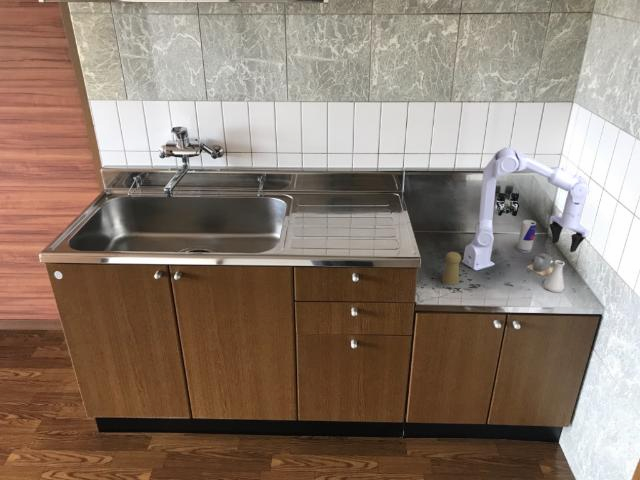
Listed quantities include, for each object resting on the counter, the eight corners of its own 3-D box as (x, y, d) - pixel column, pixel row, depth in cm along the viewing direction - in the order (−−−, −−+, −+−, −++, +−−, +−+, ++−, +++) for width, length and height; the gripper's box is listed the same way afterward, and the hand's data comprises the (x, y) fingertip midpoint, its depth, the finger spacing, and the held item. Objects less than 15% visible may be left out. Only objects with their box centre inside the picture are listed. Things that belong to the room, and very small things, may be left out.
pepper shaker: (459, 277, 185) (463, 250, 180) (458, 286, 180) (462, 259, 175) (442, 275, 187) (445, 248, 182) (440, 283, 182) (444, 256, 177)
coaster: (541, 276, 186) (542, 274, 186) (526, 267, 192) (527, 265, 191) (555, 271, 189) (555, 270, 189) (540, 263, 195) (540, 261, 194)
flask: (562, 295, 175) (569, 269, 171) (540, 289, 179) (546, 264, 174) (566, 285, 181) (572, 260, 176) (544, 279, 184) (550, 255, 179)
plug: (537, 272, 187) (540, 260, 185) (530, 268, 190) (532, 256, 188) (552, 267, 190) (555, 256, 188) (545, 263, 193) (547, 251, 191)
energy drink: (532, 253, 201) (538, 226, 196) (517, 252, 202) (523, 224, 197) (530, 247, 206) (535, 220, 200) (516, 246, 207) (521, 219, 201)
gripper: (598, 217, 174) (589, 253, 180) (563, 202, 185) (555, 236, 191) (584, 221, 171) (575, 257, 177) (549, 206, 182) (541, 240, 189)
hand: (563, 246), depth 184 cm, fingers open, 7 cm apart
